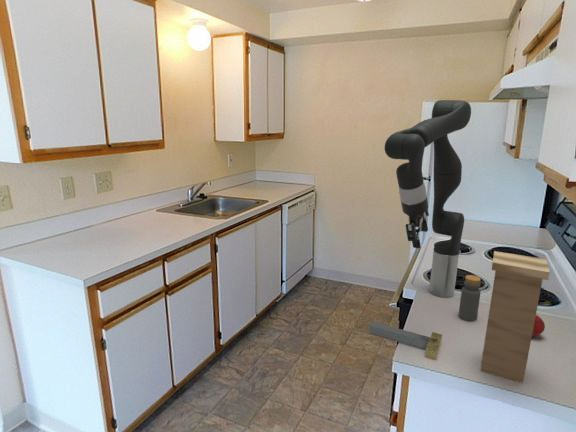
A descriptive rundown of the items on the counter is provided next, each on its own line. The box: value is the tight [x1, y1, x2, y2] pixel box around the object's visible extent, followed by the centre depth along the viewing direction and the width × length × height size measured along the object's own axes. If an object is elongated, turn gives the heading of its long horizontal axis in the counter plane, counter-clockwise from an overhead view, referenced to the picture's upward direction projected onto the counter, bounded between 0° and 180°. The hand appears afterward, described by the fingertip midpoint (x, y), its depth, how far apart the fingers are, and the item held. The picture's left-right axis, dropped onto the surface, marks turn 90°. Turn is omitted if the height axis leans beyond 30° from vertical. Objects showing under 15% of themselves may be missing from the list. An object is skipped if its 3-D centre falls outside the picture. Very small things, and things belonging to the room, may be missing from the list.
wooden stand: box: [480, 250, 550, 384], centre depth 100 cm, size 10×12×32 cm
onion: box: [532, 313, 546, 337], centre depth 119 cm, size 6×6×8 cm
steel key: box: [368, 321, 444, 361], centre depth 117 cm, size 10×21×3 cm, turn 60°
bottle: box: [458, 274, 482, 322], centre depth 129 cm, size 6×6×15 cm
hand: (420, 239), depth 120 cm, fingers open, 8 cm apart
